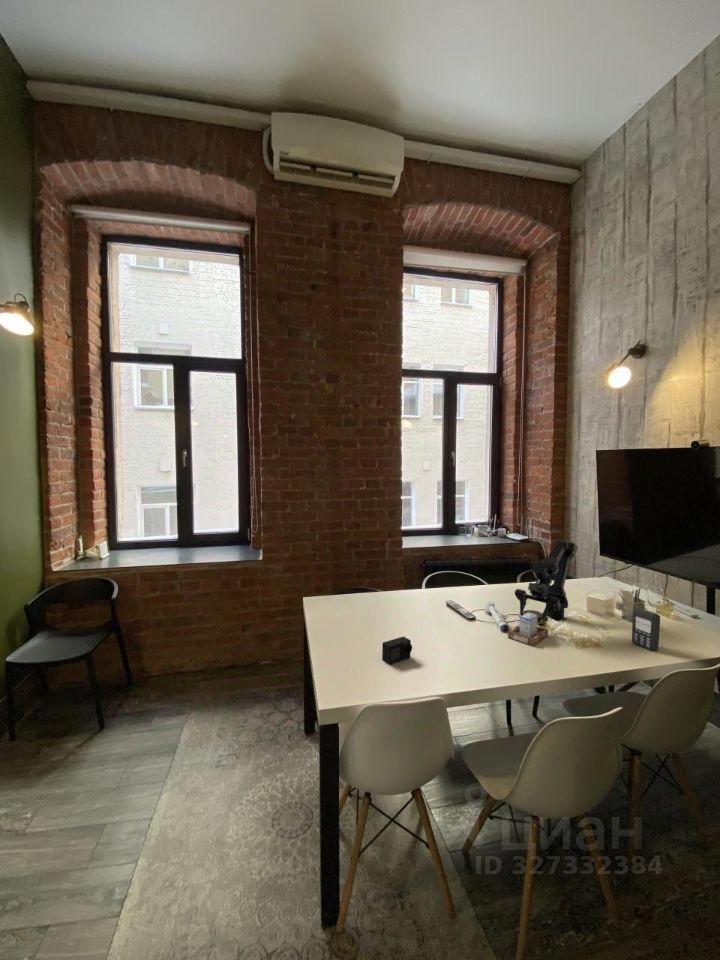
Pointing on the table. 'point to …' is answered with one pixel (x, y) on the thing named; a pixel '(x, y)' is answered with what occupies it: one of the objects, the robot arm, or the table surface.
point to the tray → (533, 641)
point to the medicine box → (528, 624)
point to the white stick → (496, 616)
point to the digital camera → (396, 650)
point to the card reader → (645, 629)
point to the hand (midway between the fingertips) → (531, 615)
